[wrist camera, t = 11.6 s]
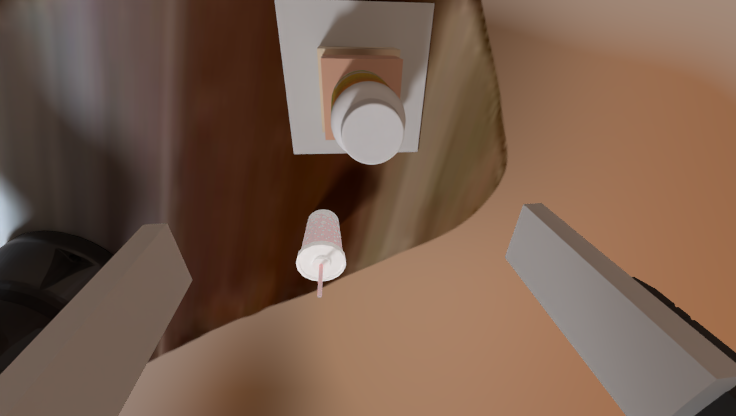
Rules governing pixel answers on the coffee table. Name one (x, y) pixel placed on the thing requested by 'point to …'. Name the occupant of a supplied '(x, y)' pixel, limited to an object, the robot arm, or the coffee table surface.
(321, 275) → the beverage cup
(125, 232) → the coffee table surface
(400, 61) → the tower top block
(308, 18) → the tower mat
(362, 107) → the supplement bottle
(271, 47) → the coffee table surface
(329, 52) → the tower base block
